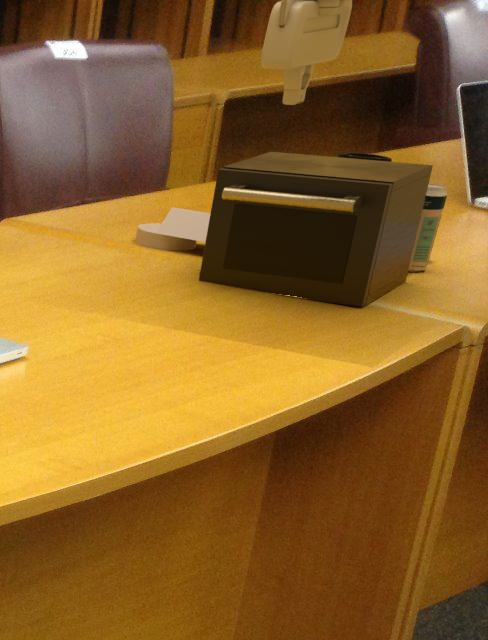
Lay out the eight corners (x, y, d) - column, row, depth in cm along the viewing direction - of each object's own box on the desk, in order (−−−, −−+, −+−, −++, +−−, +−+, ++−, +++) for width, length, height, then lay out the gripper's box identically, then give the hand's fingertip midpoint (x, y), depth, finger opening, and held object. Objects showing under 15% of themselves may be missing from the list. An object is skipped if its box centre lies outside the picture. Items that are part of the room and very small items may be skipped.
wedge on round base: (228, 256, 236) (149, 242, 244) (238, 212, 233) (157, 199, 241) (204, 265, 230) (123, 250, 238) (213, 219, 227) (131, 206, 235)
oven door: (351, 313, 201) (379, 189, 194) (185, 290, 213) (205, 172, 206) (365, 305, 205) (392, 183, 198) (201, 282, 218) (222, 168, 211)
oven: (365, 305, 205) (393, 182, 198) (202, 283, 218) (222, 166, 211) (405, 281, 219) (433, 165, 212) (249, 262, 232) (270, 151, 225)
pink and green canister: (399, 264, 229) (421, 181, 224) (431, 270, 226) (455, 186, 220) (384, 268, 227) (406, 184, 221) (416, 274, 223) (440, 190, 218)
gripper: (315, -14, 177) (292, 112, 183) (365, -19, 191) (342, 98, 197) (259, -15, 180) (238, 109, 186) (313, -20, 194) (292, 96, 201)
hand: (292, 103), depth 192 cm, fingers closed
